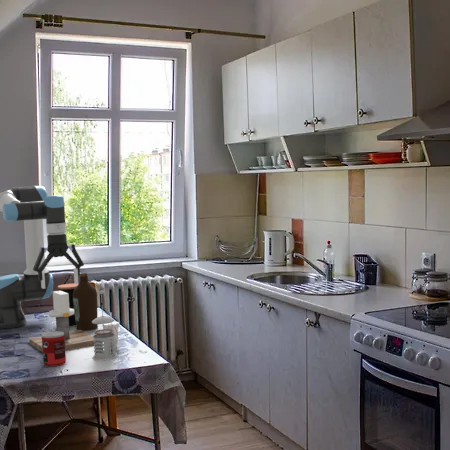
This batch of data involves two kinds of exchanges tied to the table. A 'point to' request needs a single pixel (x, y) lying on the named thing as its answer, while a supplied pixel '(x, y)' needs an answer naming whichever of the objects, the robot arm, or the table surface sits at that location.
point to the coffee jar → (69, 289)
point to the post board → (72, 338)
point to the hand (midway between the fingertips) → (60, 286)
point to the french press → (104, 339)
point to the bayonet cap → (61, 305)
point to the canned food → (53, 348)
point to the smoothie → (113, 329)
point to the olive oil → (85, 304)
